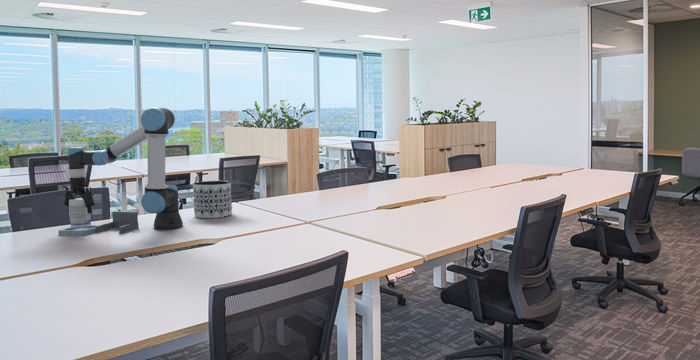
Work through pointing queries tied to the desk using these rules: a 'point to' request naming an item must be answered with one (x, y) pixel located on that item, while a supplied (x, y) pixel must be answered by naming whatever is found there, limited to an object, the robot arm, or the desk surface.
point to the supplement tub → (78, 213)
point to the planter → (212, 199)
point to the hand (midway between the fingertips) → (80, 218)
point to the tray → (78, 231)
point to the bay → (121, 222)
